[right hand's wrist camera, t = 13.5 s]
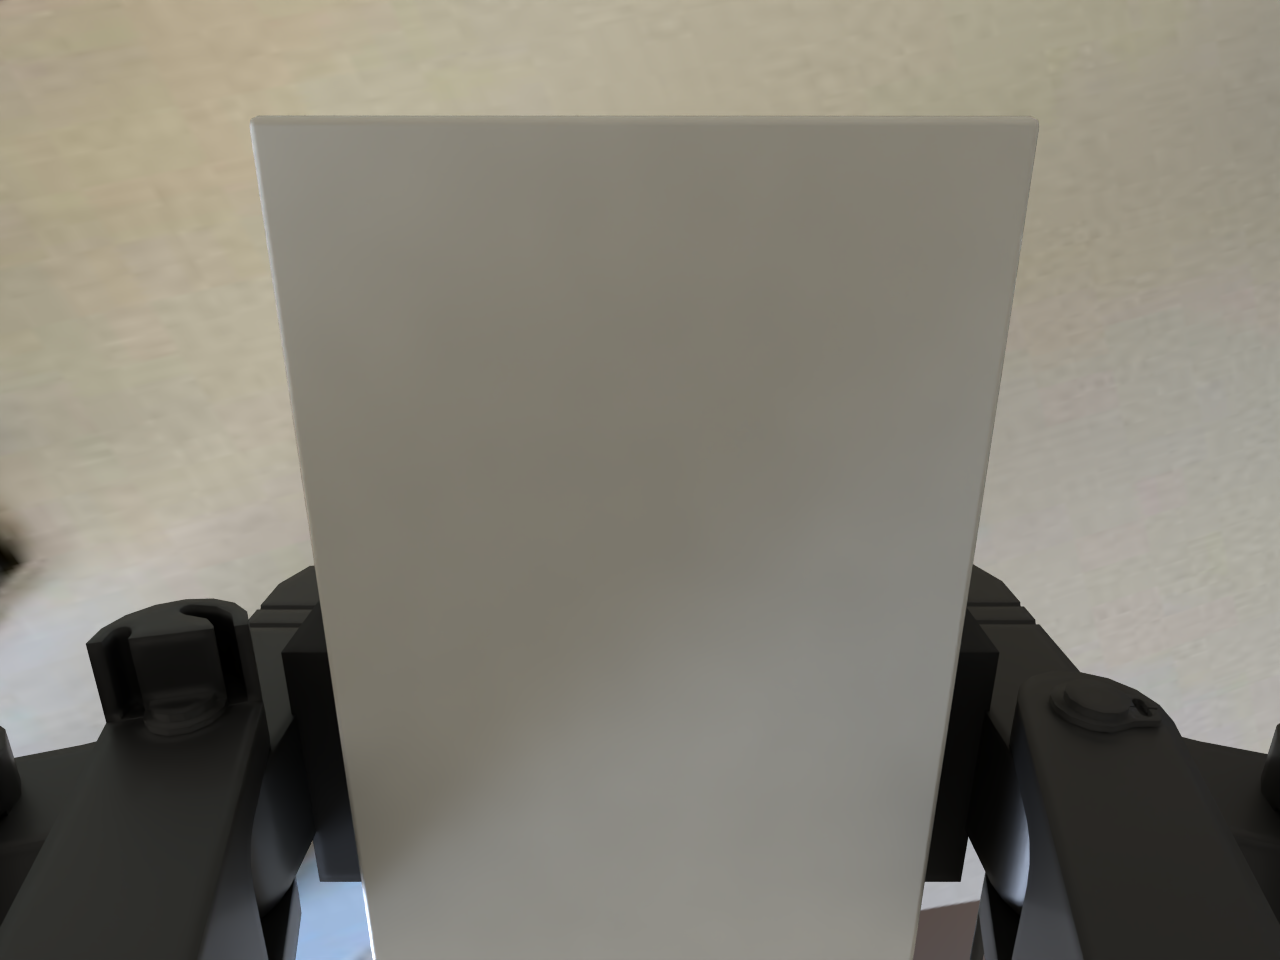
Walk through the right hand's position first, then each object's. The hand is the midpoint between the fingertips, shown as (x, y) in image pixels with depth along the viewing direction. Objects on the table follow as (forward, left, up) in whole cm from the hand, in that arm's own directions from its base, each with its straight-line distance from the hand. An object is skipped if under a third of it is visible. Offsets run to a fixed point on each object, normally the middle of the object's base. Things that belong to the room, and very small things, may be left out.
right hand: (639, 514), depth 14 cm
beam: (+2, +22, -1) cm, 22 cm away
